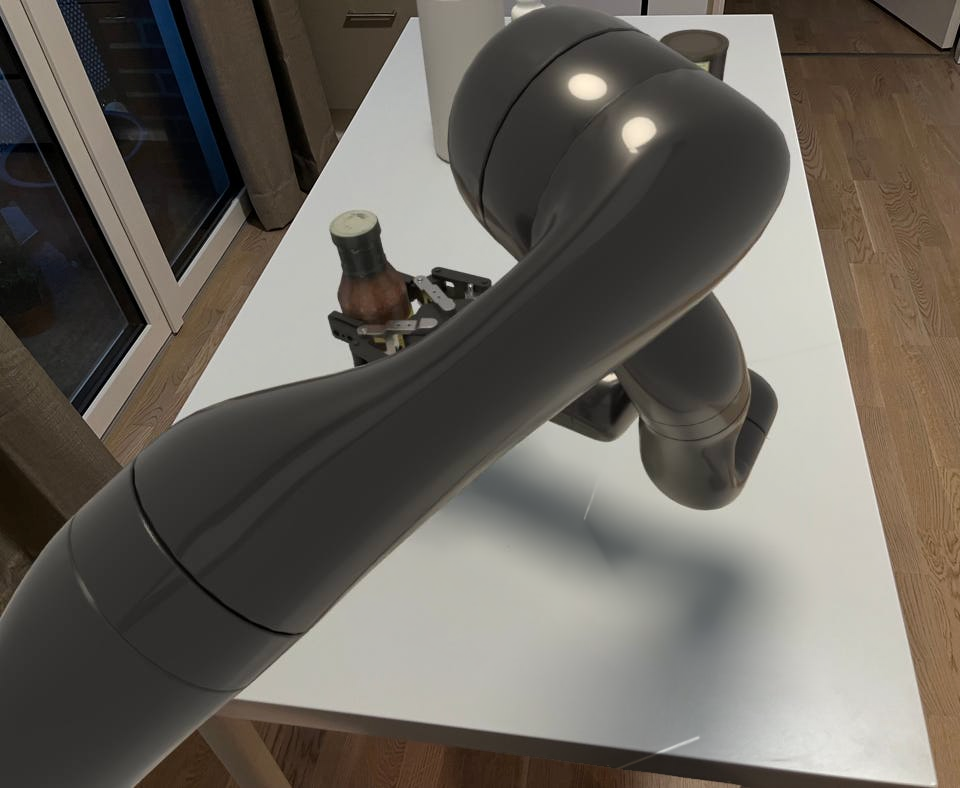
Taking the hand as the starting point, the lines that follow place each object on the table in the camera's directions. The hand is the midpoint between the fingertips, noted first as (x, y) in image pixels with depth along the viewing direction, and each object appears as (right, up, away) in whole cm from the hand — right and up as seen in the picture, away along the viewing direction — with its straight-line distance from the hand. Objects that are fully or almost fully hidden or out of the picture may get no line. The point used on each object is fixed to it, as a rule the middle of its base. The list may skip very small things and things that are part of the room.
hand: (357, 300), depth 71 cm
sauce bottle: (+3, -9, +7) cm, 11 cm away
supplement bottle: (+21, +55, +82) cm, 101 cm away
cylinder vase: (+10, +32, +59) cm, 68 cm away
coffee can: (+44, +34, +58) cm, 81 cm away
